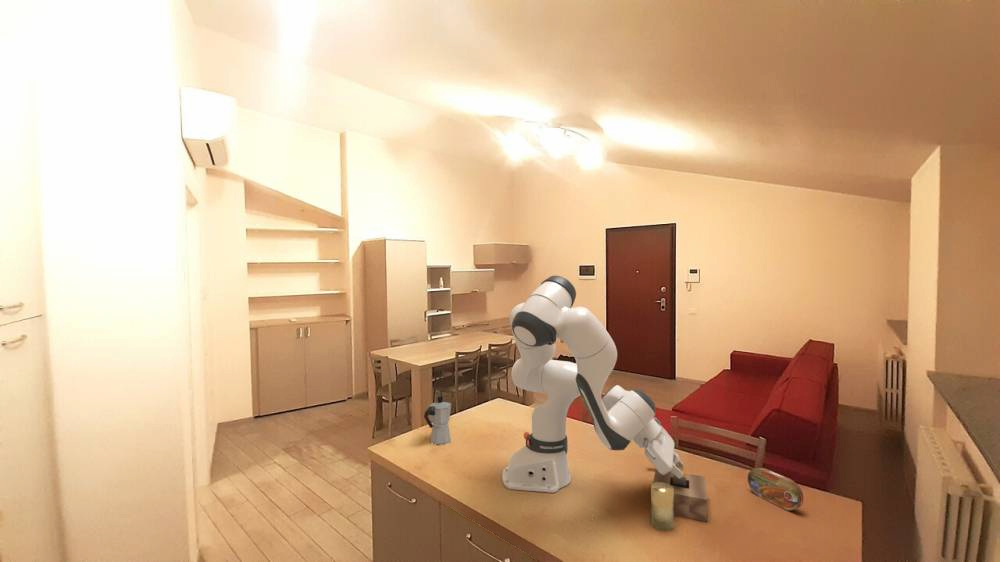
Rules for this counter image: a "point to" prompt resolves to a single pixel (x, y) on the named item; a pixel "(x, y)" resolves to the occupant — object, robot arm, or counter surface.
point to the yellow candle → (662, 506)
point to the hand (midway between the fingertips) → (681, 471)
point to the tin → (775, 488)
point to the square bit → (680, 479)
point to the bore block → (688, 495)
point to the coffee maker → (439, 421)
